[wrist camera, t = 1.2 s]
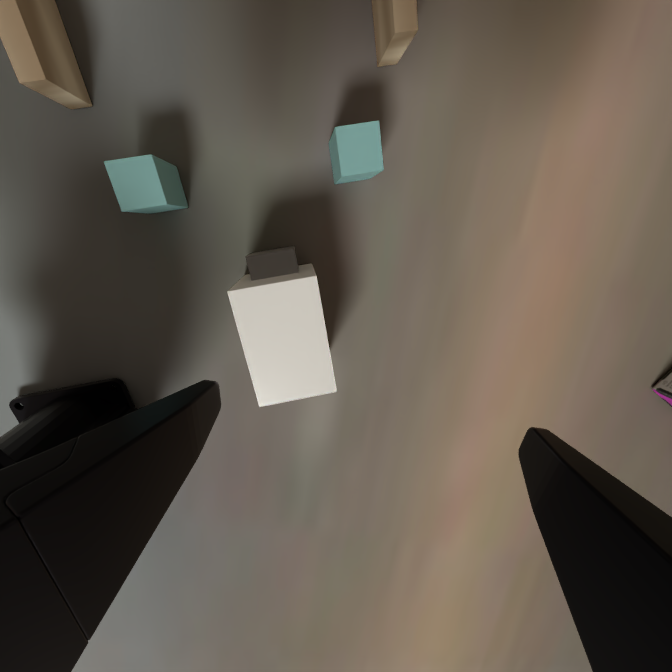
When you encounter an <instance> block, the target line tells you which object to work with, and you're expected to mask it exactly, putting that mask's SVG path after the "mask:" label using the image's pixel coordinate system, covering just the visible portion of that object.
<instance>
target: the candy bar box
mask: <svg viewBox="0 0 672 672" xmlns="http://www.w3.org/2000/svg"><path fill="white" fill-rule="evenodd" d="M652 390H653V391H654V392H655V393H657V394H658V395H659V396H660V397H661V398H662V399H663V400H665V401H666V402H667V403H668V404H669V405H670V406H671V407H672V369H671V370H670V371H669V372H668V373H667V374H666V375H665V376H664V377H663V378H662V379H660V380H659V382H658V383H657V384H656V385H655V386H654V387H653V388H652Z"/></svg>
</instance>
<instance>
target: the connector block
mask: <svg viewBox="0 0 672 672" xmlns="http://www.w3.org/2000/svg"><path fill="white" fill-rule="evenodd" d="M246 261H247V265H248V269H249V273H250V274H247V275H244V276H243V277H242V278H241V279H240V280H239V281H238V282H237V283H236V284H235V285H234V286H232V287H231V288H230V289H229V290H228V291H227V292H228V296H229V300H230V303H231V307H232V310H233V314H234V318H235V321H236V325H237V328H238V332H239V335H240V339H241V343H242V346H243V350H244V353H245V357H246V361H247V364H248V368H249V371H250V375H251V378H252V382H253V386H254V389H255V393H256V396H257V400H258V403H259V407H262V406H267V405H272V404H277V403H282V402H287V401H292V400H297V399H302V398H308V397H313V396H318V395H323V394H328V393H333V392H337V389H336V383H335V378H334V372H333V366H332V361H331V355H330V349H329V344H328V338H327V332H326V327H325V321H324V315H323V310H322V304H321V298H320V293H319V287H318V281H317V276H316V273H315V270H314V268H313V265H312V263H311V264H305V265H299V266H298V262H297V257H296V252H295V247H294V246H290V247H284V248H279V249H273V250H267V251H261V252H255V253H250V254H249V255H247V256H246Z"/></svg>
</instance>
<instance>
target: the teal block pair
mask: <svg viewBox="0 0 672 672" xmlns="http://www.w3.org/2000/svg"><path fill="white" fill-rule="evenodd" d="M329 150H330V157H331V164H332V171H333V178H334V184H340V183H347V182H353V181H359V180H366V179H370V178H372V177H373V176H375V175H377V174H378V173H380V172H381V171H383V170H384V169H383V158H382V147H381V136H380V125H379V120H378V121H372V122H365V123H358V124H351V125H345V126H338V127H335V128H334V131H333V133H332V136H331V139H330V141H329ZM104 164H105V167H106V169H107V172H108V175H109V178H110V180H111V183H112V186H113V189H114V191H115V194H116V197H117V200H118V202H119V205H120V208H121V211H122V212H135V213H148V214H152V213H159V212H165V211H171V210H177V209H184V208H189V207H188V204H187V201H186V197H185V194H184V190H183V187H182V184H181V180H180V177H179V173H178V170H177V167H176V166H174V165H172V164H170V163H168V162H166V161H164V160H162V159H160V158H158V157H156V156H154V155H152V154H150V155H143V156H136V157H130V158H123V159H116V160H110V161H104Z"/></svg>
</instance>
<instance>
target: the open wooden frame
mask: <svg viewBox="0 0 672 672" xmlns="http://www.w3.org/2000/svg"><path fill="white" fill-rule="evenodd" d="M372 11H373V22H374V33H375V44H376V56H377V67H380V66H387V65H395V64H397V63H398V61H399V60H400V58H401V57H402V55H403V53H404V52H405V50H406V49H407V47H408V45H409V44H410V42H411V41H412V39H413V37H414V36H415V34H416V32H417V31H418V18H417V0H372ZM0 37H1V40H2V42H3V45H4V47H5V49H6V52H7V54H8V57H9V59H10V61H11V64H12V66H13V69H14V71H15V74H16V76H17V78H18V81H19V83H21V84H23V85H24V86H26V87H28V88H30V89H32V90H34V91H36V92H38V93H40V94H42V95H44V96H46V97H48V98H50V99H52V100H54V101H56V102H58V103H60V104H62V105H63V106H65V107H67V108H69V109H78V108H85V107H92V103H91V101H90V98H89V95H88V92H87V89H86V86H85V84H84V81H83V78H82V75H81V72H80V70H79V67H78V64H77V61H76V58H75V56H74V53H73V50H72V47H71V44H70V41H69V39H68V36H67V33H66V30H65V27H64V25H63V22H62V19H61V16H60V13H59V11H58V8H57V5H56V2H55V0H0Z"/></svg>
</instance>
